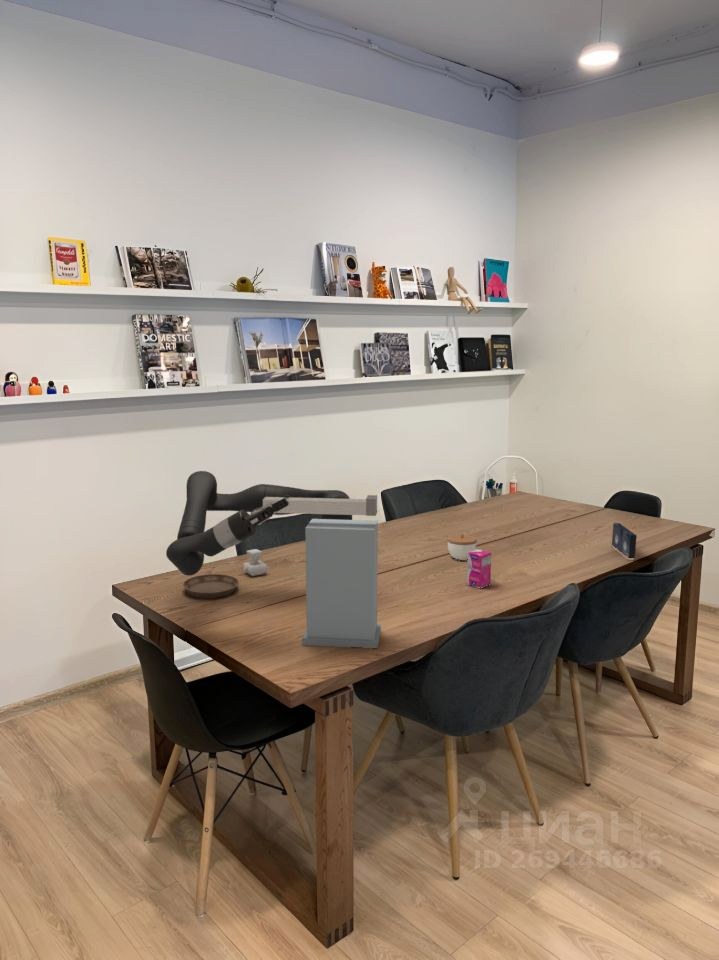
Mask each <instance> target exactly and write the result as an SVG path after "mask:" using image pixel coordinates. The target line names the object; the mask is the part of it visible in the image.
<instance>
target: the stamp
mask: <svg viewBox="0 0 719 960" xmlns="http://www.w3.org/2000/svg"><path fill="white" fill-rule="evenodd" d="M246 555H247V557H248V558H249V559H251V561H247V562H243V564H242V568H243V570H242V571H243V572H244V573H246V574H248V575H250V576H252V577H255V576H262V575H264V574H265V572H267V570H268V569H269V567H268V565H267V563H264V562H262V561H260V560H259V559H260V558H262V557H263V551H261V550H259V549H257V548H255V549H254V548H253V549H249V550H248V549H247V550H246Z"/></svg>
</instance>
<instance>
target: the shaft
mask: <svg viewBox="0 0 719 960" xmlns="http://www.w3.org/2000/svg"><path fill="white" fill-rule="evenodd" d="M283 498H285V499H286V500H287V502H288V506H286V507H285V508H283V509H281V510H279V511H276V512H277V513H294V514H297V515H298V514H301V515H302V514H305V515H307V514H308V515H309V514H310V515H321V514H337V515H352V516H366V517H371V516H372V517H376V516H377V513H378V495H377V494H374V495H373V494H371V495H370V494H369V495H368V494H367V496H366V498H350V499H335V498H291V497H289V498H288V497H265V498H264V499H263V507H265V508H266V507H268V506H269V505H273V504H274V503H276V502H278V501H280V500H281V499H283Z"/></svg>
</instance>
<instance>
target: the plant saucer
mask: <svg viewBox="0 0 719 960" xmlns="http://www.w3.org/2000/svg"><path fill="white" fill-rule="evenodd" d="M239 583H240V582H239V580H238V579H237V577H234V576H231V575H227V574H218V573H217V574H216V573H215V574H214V573H212V574H211V573H210V574H209V573H208V574H201V575H197V576H196V575H195V576H193V577H190V578H188V579H185V581H184V582H183V584H182V586H183V588H184V590H185V591H186V592H187V593H188V594H189V595H190V596H192V597H194V596H195V598H198V597H201V599H215V597H218V598H221V597H222V596H223V597H225V595H226V596H229V595H230V594H231V593H232V594H233V592H234V591H235V590H236V588H237V587H238V586H239Z"/></svg>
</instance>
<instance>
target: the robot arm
mask: <svg viewBox="0 0 719 960" xmlns="http://www.w3.org/2000/svg"><path fill="white" fill-rule="evenodd" d="M265 497H288V498H289V497H291V498H335V499H351V498H350V496H349V495H348V494H347V493H346V492H344V491H342V490H339V489H333V490H331V489H330V490H329V489H328V490H321V489H320V490H319V489H316V490H315V489H311V490H310V489H304V488H297V487H292V486H285V485H278V484H277V485H276V484H268V483H267V484H266V483H260V484H255V485H252V486H250V487H248V488H246V489H243V490H241V491H239V492H238V491H237V492H235V493H218V482H217V478H216V476H215V475H214V474H213V473H211V472H209V471H206V470H198V471H195V472H192V473H191V474H190V475H189V476H188V478H187V480H186V502H185V506H184V510H183V514H182V518H181V522H180V524H179V527H178V528H179V529H178V532H177V535H176V536H177V537H176V540H173V542H170V544H169V545H168V547H167V549H166V555H165V556H166V558H167V559H168V560H169V562H171V563H172V565H174V566H175V567H176V569H177V570H178V571H180V573H182V574H183V575H185V576H189V577H190V576H194V575H196V574H197V573H199V571H200V570H201V569H202V567H203V565H204V561H205V556H207V557H215V556H216V555H219V554H220V553H222V552H223V551H225V550H227V549H229V548H231V547H234V546H236V545H239V544H241V543H243V542H244V541H245V540H247V539H249V538H251V537H252V536H255V535H256V533H257V526H260V525H262V524H263V523H264V522H266V521H267V520H270V518H272V517H273V516H282V515H283V516H285V515H294V514H295V513H277V512H276V511H279V510H281V509H283V508H285V507H286V506H288V502H287V500H286V499H285V498H283V499H281V500H280V501H278V502H276V503H274V504H273V505H269V506H268V507H266V508H265V507H263V499H264V498H265ZM224 511H225V512H235V513H233V514H232V515H230V516H228V517H226V518H225V519H222V520H221V521H219V522H218V523H216V524H215V525H214V526H212V527H210V528H209V529H207V530H205V528H206V522H207V512H224ZM320 515H321V516H322V518H321V519H336V520H353V515H337V514H320Z"/></svg>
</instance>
